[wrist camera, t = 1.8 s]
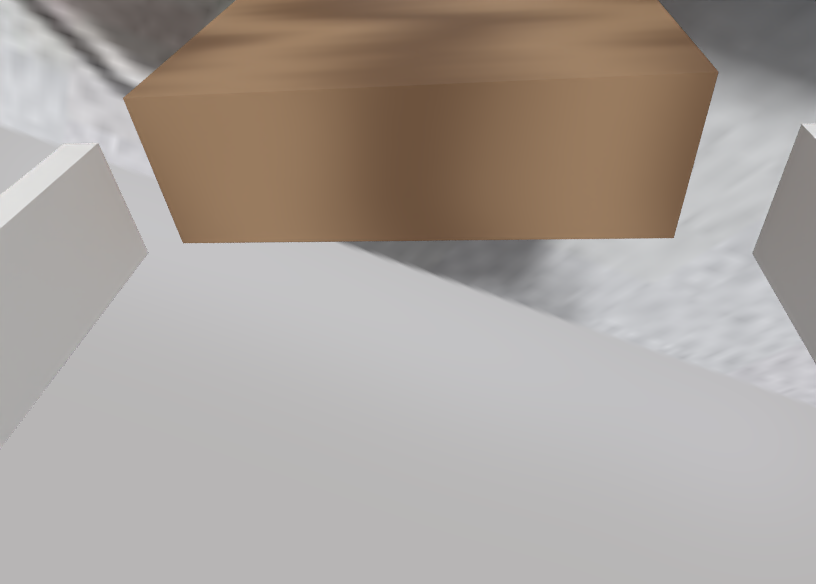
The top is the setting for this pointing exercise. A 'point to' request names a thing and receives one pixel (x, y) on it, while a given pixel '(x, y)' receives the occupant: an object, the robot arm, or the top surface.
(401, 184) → the walnut frame
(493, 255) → the top surface
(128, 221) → the robot arm
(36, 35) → the top surface
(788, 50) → the top surface
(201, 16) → the top surface
